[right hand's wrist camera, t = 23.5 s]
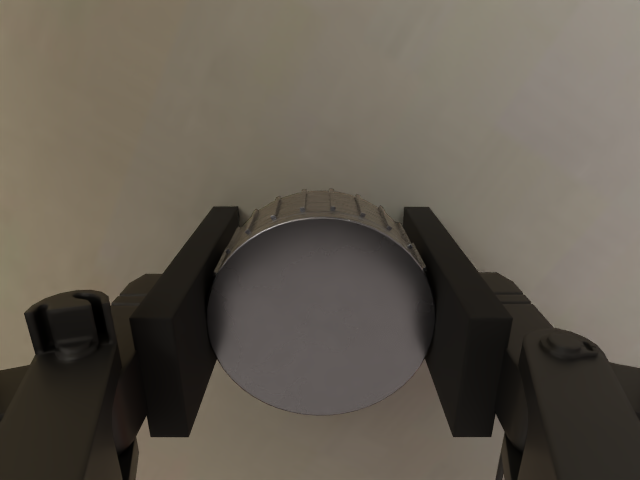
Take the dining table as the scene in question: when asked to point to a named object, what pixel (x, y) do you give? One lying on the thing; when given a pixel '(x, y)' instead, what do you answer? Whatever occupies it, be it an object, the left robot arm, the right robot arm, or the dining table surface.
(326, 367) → the lid
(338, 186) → the dining table surface
